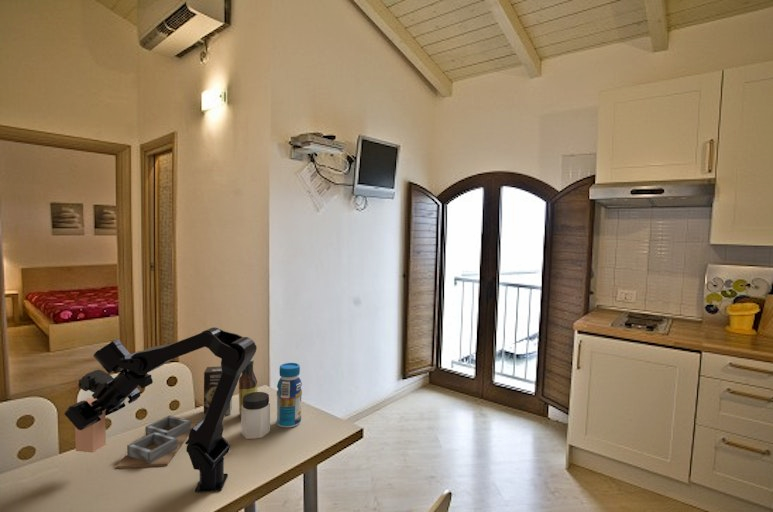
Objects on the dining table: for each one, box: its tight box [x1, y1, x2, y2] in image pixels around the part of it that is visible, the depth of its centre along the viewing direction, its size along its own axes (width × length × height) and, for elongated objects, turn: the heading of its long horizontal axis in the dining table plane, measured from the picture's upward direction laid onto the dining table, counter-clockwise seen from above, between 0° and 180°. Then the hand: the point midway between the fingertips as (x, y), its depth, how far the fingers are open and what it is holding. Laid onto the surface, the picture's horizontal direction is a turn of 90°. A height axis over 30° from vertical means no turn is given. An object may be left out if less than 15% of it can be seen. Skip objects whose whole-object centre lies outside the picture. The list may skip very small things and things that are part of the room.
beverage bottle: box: [276, 362, 303, 429], centre depth 134 cm, size 8×8×20 cm
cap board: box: [115, 415, 198, 469], centre depth 119 cm, size 24×13×4 cm, turn 8°
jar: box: [240, 391, 271, 440], centre depth 127 cm, size 9×8×12 cm
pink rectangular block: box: [74, 397, 107, 454], centre depth 104 cm, size 5×4×12 cm
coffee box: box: [202, 365, 233, 418], centre depth 140 cm, size 9×6×16 cm
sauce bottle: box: [238, 358, 258, 417], centre depth 139 cm, size 6×6×20 cm
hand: (85, 423), depth 104 cm, fingers closed on pink rectangular block, 4 cm apart
